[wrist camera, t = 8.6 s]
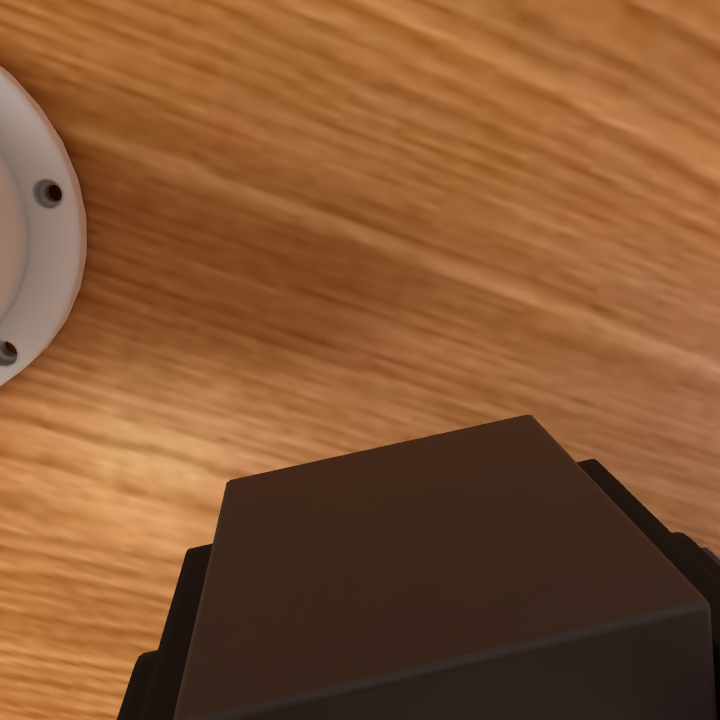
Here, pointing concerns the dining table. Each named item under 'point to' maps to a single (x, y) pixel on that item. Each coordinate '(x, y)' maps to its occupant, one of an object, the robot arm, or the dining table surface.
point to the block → (443, 593)
